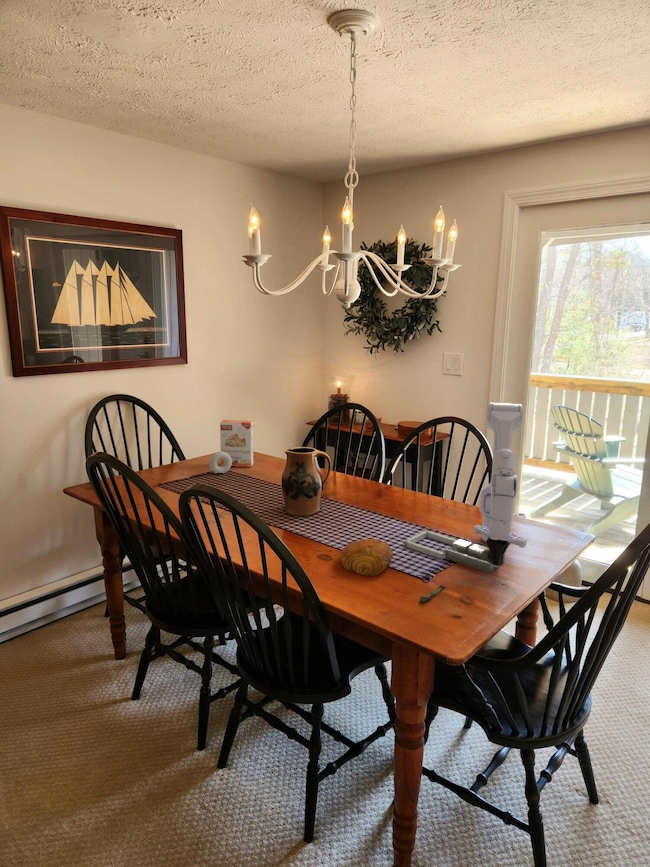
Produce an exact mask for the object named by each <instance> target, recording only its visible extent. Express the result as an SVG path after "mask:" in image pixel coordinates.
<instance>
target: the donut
mask: <svg viewBox="0 0 650 867" xmlns="http://www.w3.org/2000/svg"><path fill="white" fill-rule="evenodd" d="M221 459H223V460H224V464H223V465H222V466H221V465H220V466H219V465H218V462H219V461H221ZM208 465H209V468H210V470H211V471H212V472H213V473H215V474H217V473H223V474H226V473H227V472H228V471H229V470H230V469H231V468H232V467H231V465H232V459H231V457H230V455H229V454H228V453H226V452H221V450H220V451H217V452H215V453H213V455H212V456H210V459H209V463H208ZM225 472H226V473H225Z"/></svg>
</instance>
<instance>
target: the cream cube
mask: <svg viewBox="0 0 650 867" xmlns="http://www.w3.org/2000/svg"><path fill="white" fill-rule="evenodd" d="M473 544H474V543H473ZM488 549H489V547H488V546H484V545H482V544H481V545H480V544H477V543H475V544H474V545H473V546H471V547H469V549H468V555H469V556H472V557H475V558H478V559H481V560H484V561H487V559H488Z"/></svg>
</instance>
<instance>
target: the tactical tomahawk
mask: <svg viewBox="0 0 650 867" xmlns="http://www.w3.org/2000/svg"><path fill="white" fill-rule="evenodd" d="M446 589H447V587H445V586H443V585H439V586H438V587H436V588H435V589H433V590H432V591H431V592H430V593H429V594H428V595H426V596H420V598H419V602H422V603H424V602H427V601H428V600H433V599H434V598H435V597H436V596H438V595H439V594H440V593H441V592H443V591H444V590H446Z"/></svg>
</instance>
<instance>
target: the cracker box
mask: <svg viewBox="0 0 650 867" xmlns="http://www.w3.org/2000/svg"><path fill="white" fill-rule="evenodd" d="M219 433H220V435H219V436H220V438H219V439H220V451H221V452H226V453H228V454H229V455H230V457H231V459H232V465H231V466H236V467H235V468H244V467H251V466H252V467H253V466H254V420H245V419H244V420H243V419H242V420H241V419H240V420H239V419H238V420H237V419H222V420H221V421H220V422H219ZM223 464H224V460H223V459H220V466H222V465H223ZM252 467H251V468H252Z"/></svg>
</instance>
